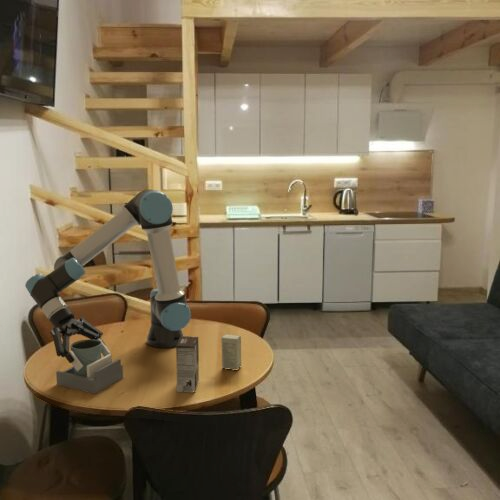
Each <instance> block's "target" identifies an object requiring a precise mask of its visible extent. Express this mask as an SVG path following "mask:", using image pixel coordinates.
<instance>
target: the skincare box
mask: <svg viewBox="0 0 500 500" xmlns="http://www.w3.org/2000/svg"><path fill="white" fill-rule="evenodd" d="M240 366H241V367H242V336H241V335H239V334H230V333H229V334H227V333H225V334H224V335H223V336H221V368H222V367H223V368H230V369H238V368H239V367H240Z"/></svg>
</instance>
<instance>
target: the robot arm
mask: <svg viewBox="0 0 500 500" xmlns="http://www.w3.org/2000/svg"><path fill="white" fill-rule="evenodd" d="M173 210H174V209H173V203H172V200H171V199H170V197H168V195H167V194H165V193H164V192H162V191H160V190H156V189H155V190H154V189H144V190H141V191H140V192H138V193H137V194H136V195H135V196H133V198H131V199H130V200H129V201H128V202H127V203H125V204H124V205H123V206H122V209H121V211H120V212H118V213H117V214H116V215H114V216H113V217H112V218H110V219H109V220H108V221H107V222H105V223H104V224H103V225H102V226H100V227H99V228H98V229H96V230H95V231H94V232H93V233H91V234H90V235H89V236H87V237H86V238H85V239H84V240H82V241H81V242H80V243H78V244H77V245H76V246H75V247H73V248H72V249H70V250H69V251H68V252H66V253H65V254H64V255H61V256H59V257H58V258H57V259H56V260H55V262H54V264H53V269H54V270H52V271H51V272H50V273H48V274H46V275H45V274H44V273H37V274H35V275H32V276H31V277H30V278H28V280H27V281H26V282H25V285H24V286H25V288H26V290H27V291H28V293H29V296H31V298H32V299H33V300H34V301H35V304H37V306H38V307H39V309H41V311H42V313H43V314H44V315H45V316H46V318H47V319H49V323H50V324H51V325H52V326H53V328H52V329H51V330H50V332H49V333H50V334H51V337H52V339H53V344H54V348H55V352H56V356H57V357H61V358H65V359H66V360H67V361H68V363H70V364H71V365H72V367H73V366H74V368H75V369H76V370H77V372H78V371H79V370H80V369H81V368H82V367H83V365H82V364H81V362H80V361H79V360H78V358H77V357H76V356H75V354H74V353H73V351H71V350H70V337H72V336H75V335H81V336H83V337H85V338H87V339H94V340H99V341H101V342H102V349H101V355H103V357H105V356H107V355H109V354H111V351H110V350H109V348H108V347H107V345H106V343H105V341H104V340H103V339H102V337H103V335H104V332H102V330H100V329H98V328H97V327H95V326H94V325H92V323H90V322H88V321H87V320H86V319H85V318H84V316H83V317H82V316H81V317H79V319H76V318H75V314H74V313H73V311H72V309H70V307H68V304H67V303H66V302H65V301H64V299H63V298H62V297H61V295H60V293H61V292H63V291H64V290H66V289H67V288H68V287H70V286H71V285H73V284H74V283H76V282H77V281H78V280H80V279H81V278H82V277H83V276H84V275H85V274H86V270H85V268H84V266H85V265H86V264H87V263H89V262H90V261H92V260H93V259H94V258H95V257H97V256H98V255H99V254H100V253H103V251H104V250H106V249H107V248H108V247H109V246H111V245H112V244H113V243H114V242H116V241H117V240H118V239H120V238H121V237H122V236H124V235H125V234H126V233H127V232H128V231H130V230H131V229H132V228H134V227H135V226H136V227H137V226H138V227H139V226H141V230H142V231H144V232H145V233H146V237H147V242H148V247H149V252H150V257H151V262H152V267H153V274H154V279H155V284H156V288H153V289H152V290H151V291H150V294H149V295H150V296H149V299H150V300H149V301H150V327H149V330H148V334H147V338H146V340H147V341H146V343H147V345H149V347H153V348H161V349H165V348H167V349H169V348H173V347H176V345H177V343H178V341H179V339H180V337H181V336H184V332H183V331H182V330H183V329H185V328H186V326H187V325H188V324H189V323H190V320H191V319H192V313H191V309H190V307H189V305H188V304H187V298H186V292H185V291H184V290H183V289H181V288H180V282H179V275H178V271H177V264H176V260H175V259H176V258H175V253H174V248H173V242H172V237H171V230H170V229H171V227H172V226H173V225H174V224H173V223H174V222H173V218H172V215H173ZM61 335H62V336H61Z"/></svg>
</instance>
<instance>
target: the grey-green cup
mask: <svg viewBox="0 0 500 500" xmlns="http://www.w3.org/2000/svg"><path fill="white" fill-rule="evenodd" d="M101 349H102V342H101V341H99V340H94V339H89V338H87V339H82V340H81V339H80V340H77V341H75V342H73V343H71V344H70V351H73V353H74V354H75V356H76V357H77V358H78V360H79V361H80V362H81V364H82V365H83V367H82V368H81V369H80V370H79V371H78V372H77V370H76V369H75V368H74V366H73V365H72V367H73V368H74V374H75V375H79V376H84V377H87V365H89V364H91V363H93V362H95V361H97V360H99V359H101V358H102V353H101Z"/></svg>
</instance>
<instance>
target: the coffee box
mask: <svg viewBox="0 0 500 500" xmlns="http://www.w3.org/2000/svg"><path fill="white" fill-rule="evenodd" d="M175 348H176V349H175V350H176V352H175V355H176V360H175V361H176V393H193V391H194V392H195V391H196V392H197V389H196V388H198V385H199V382H198V381H200V367H199V365H200V361H199V359H200V358H199V356H200V355H199V354H200V353H199V352H200V351H199V350H200V349H199V337H198V336H189V335H188V336H184V335H183V336H181V337H180V339H179V341H178V343H177V345H176V346H175ZM183 391H184V392H183ZM196 392H195V393H196Z"/></svg>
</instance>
